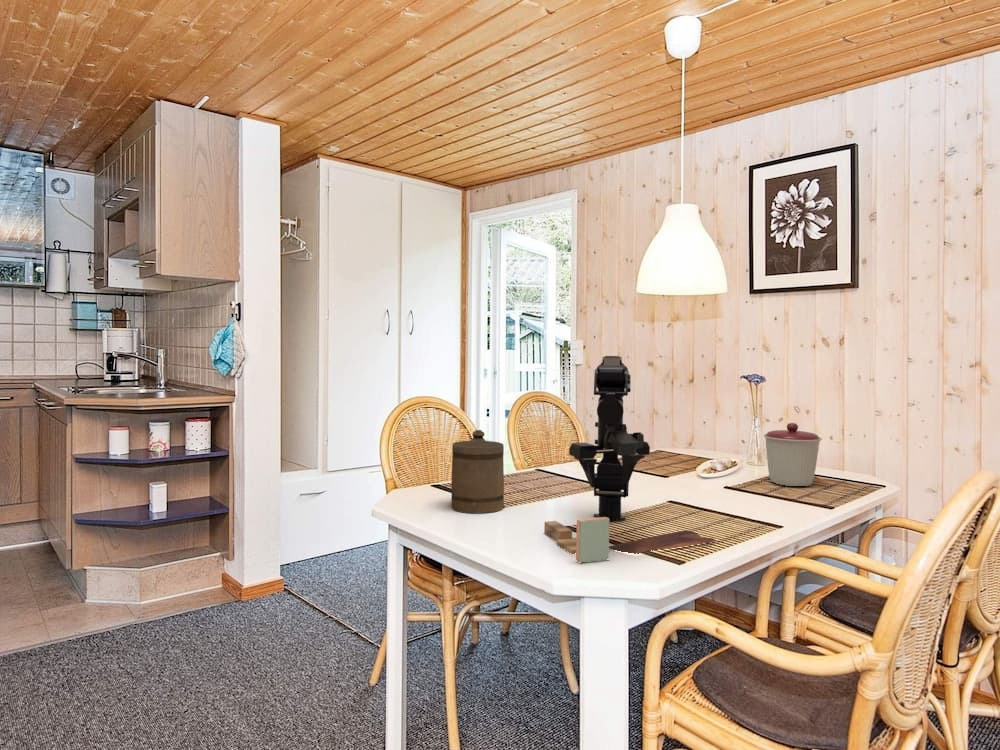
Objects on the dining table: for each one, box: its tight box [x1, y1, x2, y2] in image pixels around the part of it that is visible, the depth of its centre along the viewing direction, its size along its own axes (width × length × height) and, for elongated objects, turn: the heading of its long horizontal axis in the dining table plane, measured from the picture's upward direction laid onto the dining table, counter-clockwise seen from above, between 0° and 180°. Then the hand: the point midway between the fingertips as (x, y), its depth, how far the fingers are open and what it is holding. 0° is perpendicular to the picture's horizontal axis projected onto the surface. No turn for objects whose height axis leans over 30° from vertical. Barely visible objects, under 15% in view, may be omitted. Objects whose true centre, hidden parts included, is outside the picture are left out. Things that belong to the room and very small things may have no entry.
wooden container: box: [450, 429, 505, 514], centre depth 183 cm, size 15×15×22 cm
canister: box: [763, 422, 823, 487], centre depth 220 cm, size 18×18×21 cm
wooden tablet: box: [609, 530, 716, 554], centre depth 150 cm, size 26×2×10 cm
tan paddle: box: [543, 520, 576, 555], centre depth 150 cm, size 17×5×3 cm, turn 20°
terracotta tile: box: [575, 517, 610, 563], centre depth 137 cm, size 2×7×9 cm, turn 110°
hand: (609, 485), depth 151 cm, fingers open, 9 cm apart
